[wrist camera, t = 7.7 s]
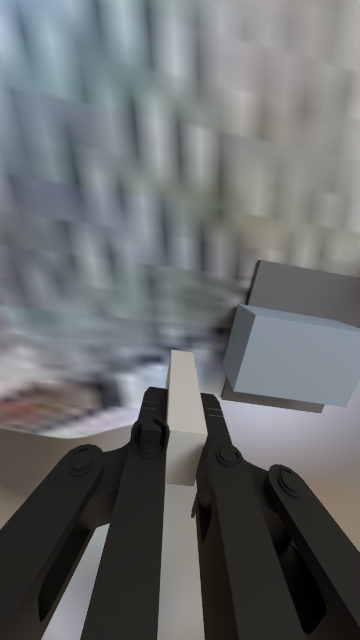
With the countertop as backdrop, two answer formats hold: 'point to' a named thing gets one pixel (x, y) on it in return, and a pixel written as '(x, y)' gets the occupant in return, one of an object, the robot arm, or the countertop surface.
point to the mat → (299, 311)
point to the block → (292, 356)
